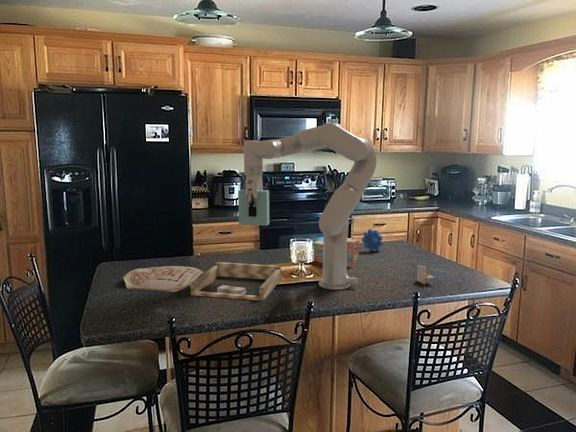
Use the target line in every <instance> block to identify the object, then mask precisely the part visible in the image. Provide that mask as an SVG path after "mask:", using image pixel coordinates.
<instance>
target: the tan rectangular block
mask: <svg viewBox="0 0 576 432" xmlns="http://www.w3.org/2000/svg"><path fill="white" fill-rule="evenodd" d="M313 246H314V261H313V263H314V262H315V263H320V264H323V240H317V241H314V242H312V247H313ZM359 252H360V239H355V238H351V237H347V268H355V267H356V266H359V255H360V254H359Z"/></svg>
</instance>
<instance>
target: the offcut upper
mask: <svg viewBox="0 0 576 432" xmlns="http://www.w3.org/2000/svg"><path fill="white" fill-rule="evenodd" d="M216 290H217V292H216V293H228V294H241V295H246V293H247V288H246V287H241V286H233V285H225V284H222V285H219V286H218V287H217V288H216Z"/></svg>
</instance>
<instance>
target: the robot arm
mask: <svg viewBox="0 0 576 432" xmlns="http://www.w3.org/2000/svg"><path fill="white" fill-rule="evenodd" d="M325 148H329V149H331V150H332V151H334V152H336V153H338V154H339V155H341V156H343V157H344V158H346V159H348V160H350V161H352V162H353V164H352V167H351V169H350V170H349V172H348V174H347V176H346V178H345V180H344V181H343V183H342V184H341V185H340V186H339V187H338V188H337V189H336V190H335V191H334V192H333V194H332V195H331V197H330V199H329V200H328V202H327V205H326V207H324V210H323V212H322V213H321V215H320V217H319V221H318V226H319V227H318V228H319V230H320V232H322V234H323V240H322V241H323V263H322V279H321V280H319V282H318V285H319V287H320V288H323V289H325V290H326V289H327V290H331V291H333V290H335V291H340V290H346V289H348V288H350V287H351V283H353V284H358V280H359V279H358V278H357V277H356V276H350V275H349V273H348V272H347V270H348V267H347V238H349V237H348V235H349V222H350V221H349V220H350V219H349V218H350V217H351V215H352V214H353V211H354V210H355V208H356V207H357V206H358V204H359V203H360V201H361V199H362V196H363V195H364V192H365V191H366V189H367V187H368V185H369V183H370V182H371V179H372V177H373V175H374V173H375V170H376V169H377V162H378V161H377V153H376V150H375V148H374V147H373V145H372V143H371V142H370V141H369V140H368V139H367V138H363V137H358V136H356V135H355V134H352V133H350V132H349V131H347V130H345V129H344V127H343V126H342V125H341V124H339V123H337V122H326V123H324V124H322V125H318V126H316V127H311V128H307V129H303V130H300V131H298V132H297V133H295V134H292V135H289V136H286V137H282V138H281V137H280V138H277V139H276V138H275V139H267V140H266V139H265V140H262V141H261V140H251V139H250V140H246V141H244V143H243V166H244V167H243V168H244V169H243V170H244V172H243V174H244V176H245V190H246V198H247V199H248V212H249V216H251V217H256V207H255V206H256V200H258V199H259V191H261V190H264V189H263V187H264V186H263V176H262V175H264V173H263V172H264V171H263V170H264V169H263V165H264V164H263V163H264V162H263V159H265V160H273V159H278V158H279V159H280V158H282V157H283V158H284V157H287V156H291V155H295V154H300V153H308V152H312V151H317V150H321V149H325ZM252 198H254V199H252ZM253 201H254V203H253Z"/></svg>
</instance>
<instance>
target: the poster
mask: <svg viewBox="0 0 576 432" xmlns="http://www.w3.org/2000/svg"><path fill="white" fill-rule="evenodd" d="M204 273H205V272H204V271H203V270H201V269H199V268H196V267H192V266H179V265H178V266H177V265H176V266H175V265H172V266H171V265H170V266H167V265H166V266H154V267H144V268H143V267H142V268H135V269H133V270H131V271H128V272H127V273H126V274H125V275H124V276H123V277H122V280H123V281H124V283H125V287H126V288H127V289H135V288H136V290H137V289H139V290H149V291H150V290H151V291H154V290H155V291H164V292H165V291H166V292H171V293H174V292H175V293H176V292H179V291H183V289H185V288H187V287H188V286H191V282H192V281H194V280H195V279H197V278H198V277H199V276H201V275H202V274H204Z"/></svg>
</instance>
